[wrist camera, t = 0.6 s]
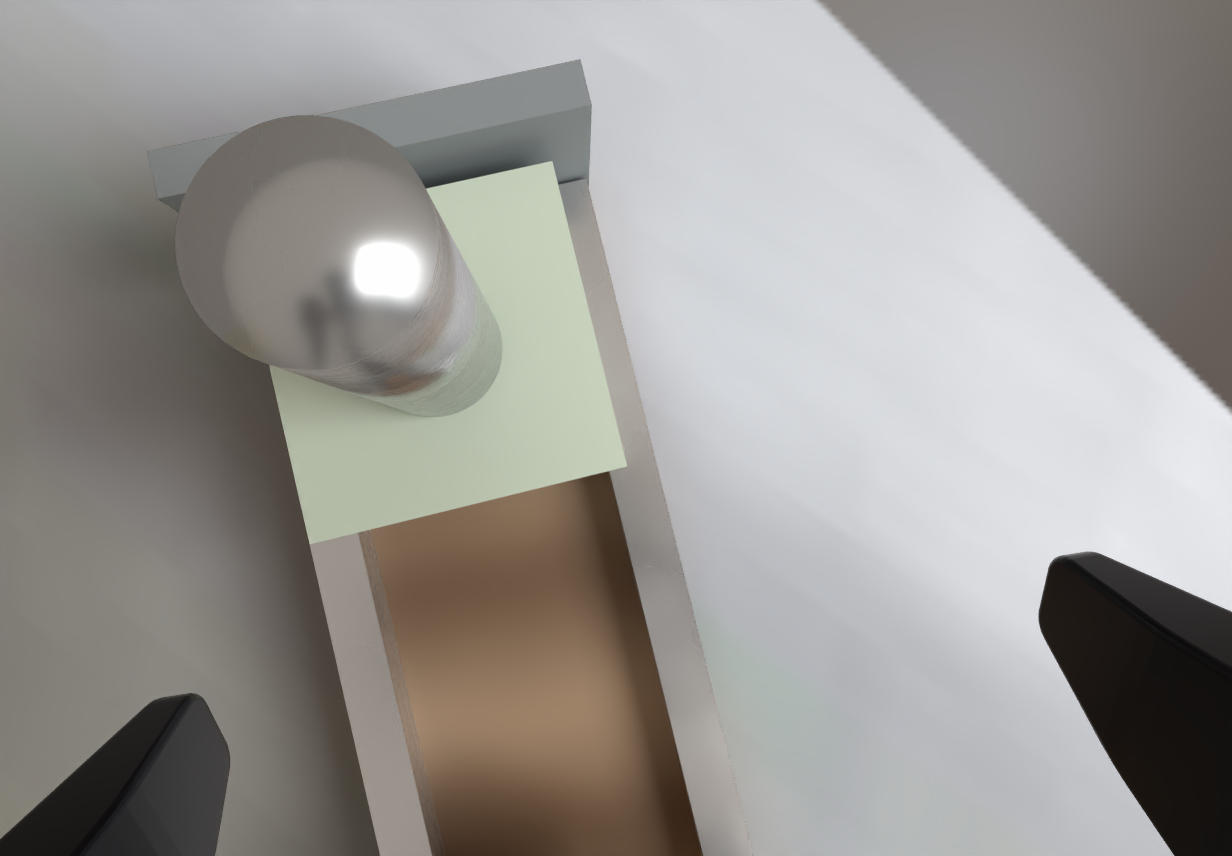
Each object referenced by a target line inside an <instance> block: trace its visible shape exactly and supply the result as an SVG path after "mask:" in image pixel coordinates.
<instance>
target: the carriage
mask: <svg viewBox="0 0 1232 856" xmlns="http://www.w3.org/2000/svg"><path fill="white" fill-rule="evenodd" d="M175 255H176V262H177V268H178V273H179V276H180V279H181V283H182V286H183V288H184V291H185V293H186V295H187V297H188V299H189V302H190V303H191V305H192V306H193V308H194V310H195V311H196V313H197V314H198V316H199V317H200V318H201V320H202V321H203V322H204V323H205V324H206V326H207V327H208V328H209V329H210V330H211V331H212V332H213V333H214V334H215V335H217V336H218V337H219V338H220V339H221V340H222V341H223V342H225V343H226V344H228V345H229V346H231V347H232V348H233V349H235V350H236V351H238V352H240V353H242V354H244V355H246V356H248V357H250V358H252V359H255V360H258V361H260V362H263V363H266V364H269V367H270V372H271V376H272V380H273V385H274V389H275V394H276V398H277V403H278V407H279V411H280V416H281V420H282V425H283V429H284V433H285V438H286V442H287V447H288V451H289V456H290V460H291V464H292V469H293V473H294V478H295V482H296V486H297V491H298V495H299V500H300V504H301V508H302V513H303V517H304V522H305V526H306V531H307V535H308V539H309V544H314V543H318V542H322V541H326V540H330V539H334V538H338V537H342V536H346V535H350V534H354V533H358V532H362V531H366V530H371V529H375V528H379V527H383V526H387V525H391V524H395V523H399V522H403V521H407V520H411V519H415V518H419V517H423V516H428V515H432V514H436V513H440V512H444V511H448V510H452V509H456V508H460V507H464V506H468V505H472V504H476V503H481V502H485V501H489V500H493V499H497V498H501V497H505V496H509V495H513V494H517V493H521V492H525V491H529V490H533V489H538V488H542V487H546V486H550V485H554V484H558V483H562V482H566V481H570V480H574V479H578V478H582V477H586V476H590V475H595V474H599V473H603V472H607V471H611V470H615V469H619V468H623V467H627V463H626V459H625V455H624V451H623V447H622V443H621V439H620V435H619V431H618V427H617V423H616V419H615V414H614V410H613V406H612V402H611V398H610V394H609V390H608V386H607V382H606V378H605V374H604V370H603V366H602V361H601V357H600V353H599V349H598V345H597V341H596V337H595V333H594V329H593V325H592V321H591V317H590V312H589V308H588V304H587V300H586V296H585V292H584V288H583V284H582V280H581V276H580V272H579V268H578V264H577V259H576V255H575V251H574V247H573V243H572V239H571V235H570V231H569V227H568V223H567V219H566V215H565V210H564V206H563V202H562V198H561V194H560V190H559V186H558V182H557V178H556V174H555V170H554V166H553V162H552V161H550V162H545V163H541V164H536V165H531V166H527V167H522V168H518V169H513V170H509V171H504V172H500V173H495V174H491V175H486V176H481V177H477V178H472V179H468V180H463V181H459V182H454V183H450V184H445V185H441V186H436V187H431V188H427V189H426V188H425V186H424V185H423V183H422V181H421V179H420V178H419V176H418V175H417V173H416V172H415V170H414V168H413V167H412V166H411V165H410V164H409V162H408V161H407V160H406V159H405V158H404V157H403V155H402V154H400V153H399V152H398V151H397V150H396V149H395V148H394V147H393V146H392V145H391V144H389V143H388V142H386V141H385V140H384V139H382V138H381V137H379V136H378V135H376V134H374V133H372V132H371V131H369V130H367V129H365V128H363V127H361V126H358V125H355V124H353V123H350V122H347V121H344V120H340V119H335V118H331V117H323V116H314V115H308V116H291V117H284V118H278V119H274V120H271V121H267V122H264V123H261V124H258V125H256V126H254V127H251V128H249V129H247V130H245V131H243V132H241V133H240V134H238V135H236V136H235V137H233V138H231V139H230V140H229V141H227V142H226V143H225V144H223V145H222V146H221V147H220V148H218V149H217V150H216V151H215V152H214V153H213V154H212V155H211V156H210V157H209V158H208V159H207V160H206V162H205V163H204V164H203V165H202V167H201V168H200V169H199V171H198V172H197V173H196V175H195V177H194V178H193V180H192V182H191V183H190V185H189V187H188V189H187V191H186V194H185V196H184V198H183V201H182V203H181V207H180V211H179V214H178V218H177V224H176V232H175Z"/></svg>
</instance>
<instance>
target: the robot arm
mask: <svg viewBox="0 0 1232 856" xmlns="http://www.w3.org/2000/svg"><path fill="white" fill-rule="evenodd" d="M1039 625H1040V629H1041V632H1042V634H1043V636H1044V639H1045V640H1046V642H1047V644H1048V646H1049V648H1050V650H1051V652H1052V653H1053V655H1054V657H1055V659H1056V661H1057V663H1058V664H1059V666H1060V668H1061V670H1062V672H1063V674H1064V676H1065V677H1066V679H1067V681H1068V683H1069V685H1070V687H1071V689H1072V690H1073V692H1074V694H1075V696H1076V698H1077V700H1078V701H1079V703H1080V705H1081V707H1082V709H1083V711H1084V713H1085V714H1086V716H1087V718H1088V720H1089V722H1090V724H1091V725H1092V727H1093V729H1094V731H1095V733H1096V735H1097V737H1098V738H1099V740H1100V742H1101V744H1102V746H1103V747H1104V749H1105V751H1106V752H1107V754H1108V756H1109V758H1110V759H1111V761H1112V763H1113V765H1114V766H1115V768H1116V769H1117V771H1118V772H1119V774H1120V775H1121V777H1122V779H1123V780H1124V782H1125V783H1126V785H1127V786H1128V788H1129V789H1130V791H1131V792H1132V794H1133V795H1134V797H1135V798H1136V800H1137V801H1138V803H1139V804H1140V806H1141V807H1142V809H1143V810H1144V812H1145V813H1146V814H1147V816H1148V817H1149V819H1150V820H1151V822H1152V823H1153V825H1154V826H1155V828H1156V829H1157V831H1158V832H1159V834H1160V835H1161V837H1162V838H1163V840H1164V841H1165V843H1166V844H1167V846H1168V847H1169V849H1170V850H1171V852H1172V853H1173V855H1174V856H1232V612H1231V611H1229V610H1227V609H1224V608H1222V607H1220V606H1218V605H1215V604H1213V603H1211V602H1208V601H1206V600H1204V599H1202V598H1199V597H1197V596H1195V595H1193V594H1190V593H1188V592H1186V591H1183V590H1181V589H1179V588H1177V587H1174V586H1172V585H1170V584H1168V583H1165V582H1163V581H1161V580H1159V579H1156V578H1154V577H1152V576H1149V575H1147V574H1145V573H1143V572H1140V571H1138V570H1136V569H1134V568H1131V567H1129V566H1127V565H1124V564H1122V563H1120V562H1118V561H1115V560H1113V559H1111V558H1109V557H1106V556H1104V555H1102V554H1099V553H1096V552H1081V553H1075V554H1069V555H1062V556H1059V557H1056V558H1055V559H1054V560H1053V561H1052V562H1051V563H1050V566H1049V568H1048V573H1047V577H1046V582H1045V586H1044V591H1043V595H1042V599H1041V604H1040V608H1039ZM229 769H230V754H229V749H228V745H227V743H226V741H225V739H224V737H223V735H222V733H221V731H220V729H219V727H218V725H217V723H216V721H215V719H214V717H213V715H212V713H211V711H210V709H209V707H208V706H207V704H206V702H205V700H204V699H203V698H202V697H201V696H200V695H198V694H193V693H188V694H182V695H176V696H169V697H163V698H159V699H156V700H154V701H152V702H151V703H149V704H148V705H147V706H146V707H144V708H143V709H142V710H141V711H140V712H139V713H138V714H137V715H136V716H135V717H134V718H132V719H131V720H130V721H129V722H128V723H127V724H126V725H125V726H124V727H123V728H121V729H120V730H119V731H118V732H117V733H116V734H115V735H114V736H113V737H112V738H110V739H109V740H108V741H107V742H106V743H105V744H104V745H103V746H102V747H101V748H100V749H98V750H97V751H96V752H95V753H94V754H93V755H92V756H91V757H90V758H89V759H87V760H86V761H85V762H84V763H83V764H82V765H81V766H80V767H79V768H78V769H77V770H75V771H74V772H73V773H72V774H71V775H70V776H69V777H68V778H67V779H66V780H64V781H63V782H62V783H61V784H60V785H59V786H58V787H57V788H56V789H55V790H54V791H52V792H51V793H50V794H49V795H48V796H47V797H46V798H45V799H44V800H43V801H41V802H40V803H39V804H38V805H37V806H36V807H35V808H34V809H33V810H32V811H31V812H29V813H28V814H27V815H26V816H25V817H24V818H23V819H22V820H21V821H20V822H18V823H17V824H16V825H15V826H14V827H13V828H12V829H11V830H10V831H9V832H7V833H6V834H5V835H4V836H3V837H2V838H1V839H0V856H215V852H216V846H217V840H218V835H219V829H220V823H221V817H222V811H223V805H224V799H225V794H226V788H227V782H228V776H229Z"/></svg>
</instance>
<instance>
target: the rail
mask: <svg viewBox="0 0 1232 856" xmlns="http://www.w3.org/2000/svg"><path fill="white" fill-rule="evenodd" d="M591 108H592V104H591V100H590V96H589V92H588V88H587V84H586V80H585V76H584V72H583V68H582V64H581V60H575V61H570V62H566V63H561V64H556V65H551V66H547V67H542V68H537V69H533V70H528V71H523V72H518V73H514V74H509V75H504V76H500V77H495V78H490V79H486V80H481V81H476V82H471V83H467V84H462V85H457V86H453V87H448V88H443V89H438V90H434V91H429V92H424V93H420V94H415V95H410V96H405V97H401V98H396V99H391V100H387V101H382V102H377V103H373V104H368V105H363V106H358V107H354V108H349V109H344V110H340V111H335V112H330V113H325V114H321V115H316V116H323V117H331V118H335V119H340V120H344V121H347V122H350V123H353V124H355V125H358V126H361V127H363V128H365V129H367V130H369V131H371V132H372V133H374V134H376V135H378V136H379V137H381V138H382V139H384V140H385V141H386V142H388V143H389V144H391V145H392V146H393V147H394V148H395V149H396V150H397V151H398V152H399V153H400V154H402V155H403V157H404V158H405V159H406V160H407V161H408V162H409V164H410V165H411V166H412V167H413V168H414V170H415V172H416V173H417V175H418V176H419V178H420V179H421V181H422V183H423V185H424V186H425V188H426V189H427V188H431V187H436V186H441V185H445V184H450V183H454V182H459V181H463V180H468V179H472V178H477V177H481V176H486V175H491V174H495V173H500V172H504V171H509V170H513V169H518V168H522V167H527V166H531V165H536V164H541V163H545V162H550V161H552V162H553V166H554V170H555V174H556V178H557V182H558V186H559V190H560V194H561V198H562V202H563V206H564V210H565V215H566V219H567V223H568V227H569V231H570V235H571V239H572V243H573V247H574V251H575V255H576V259H577V264H578V268H579V272H580V276H581V280H582V284H583V288H584V292H585V296H586V300H587V304H588V308H589V312H590V317H591V321H592V325H593V329H594V333H595V337H596V341H597V345H598V349H599V353H600V357H601V361H602V366H603V370H604V374H605V378H606V382H607V386H608V390H609V394H610V398H611V402H612V406H613V410H614V414H615V419H616V423H617V427H618V431H619V435H620V439H621V443H622V447H623V451H624V455H625V459H626V463H627V467H623V468H619V469H615V470H611V471H607V472H603V473H599V474H595V475H590V476H586V477H582V478H578V479H574V480H570V481H566V482H562V483H558V484H554V485H550V486H546V487H542V488H538V489H533V490H529V491H525V492H521V493H517V494H513V495H509V496H505V497H501V498H497V499H493V500H489V501H485V502H481V503H476V504H472V505H468V506H464V507H460V508H456V509H452V510H448V511H444V512H440V513H436V514H432V515H428V516H423V517H419V518H415V519H411V520H407V521H403V522H399V523H395V524H391V525H387V526H383V527H379V528H375V529H371V530H366V531H362V532H358V533H354V534H350V535H346V536H342V537H338V538H334V539H330V540H326V541H322V542H318V543H314V544H310V548H311V553H312V557H313V562H314V566H315V571H316V575H317V579H318V584H319V588H320V593H321V597H322V601H323V606H324V610H325V615H326V619H327V623H328V628H329V632H330V637H331V641H332V646H333V650H334V654H335V659H336V663H337V668H338V672H339V676H340V681H341V685H342V690H343V694H344V698H345V703H346V707H347V712H348V716H349V721H350V725H351V729H352V734H353V738H354V743H355V747H356V751H357V756H358V760H359V765H360V769H361V774H362V778H363V782H364V787H365V791H366V796H367V800H368V804H369V809H370V813H371V818H372V822H373V826H374V831H375V835H376V840H377V844H378V849H379V853H380V856H753V853H752V849H751V845H750V841H749V836H748V832H747V828H746V824H745V820H744V816H743V812H742V808H741V804H740V800H739V796H738V792H737V788H736V784H735V780H734V776H733V772H732V768H731V764H730V759H729V755H728V751H727V747H726V743H725V739H724V735H723V731H722V727H721V723H720V719H719V715H718V711H717V707H716V703H715V699H714V695H713V691H712V687H711V683H710V678H709V674H708V670H707V666H706V662H705V658H704V654H703V650H702V646H701V642H700V638H699V634H698V630H697V626H696V622H695V618H694V614H693V610H692V605H691V601H690V597H689V593H688V589H687V585H686V581H685V577H684V573H683V569H682V565H681V561H680V557H679V553H678V549H677V545H676V541H675V537H674V533H673V529H672V524H671V520H670V516H669V512H668V508H667V504H666V500H665V496H664V492H663V488H662V484H661V480H660V476H659V472H658V468H657V464H656V460H655V456H654V452H653V447H652V443H651V439H650V435H649V431H648V427H647V423H646V419H645V415H644V411H643V407H642V403H641V399H640V395H639V391H638V387H637V383H636V379H635V375H634V370H633V366H632V362H631V358H630V354H629V350H628V346H627V342H626V338H625V334H624V330H623V326H622V322H621V318H620V314H619V310H618V306H617V302H616V298H615V293H614V289H613V285H612V281H611V277H610V273H609V269H608V265H607V261H606V257H605V253H604V249H603V245H602V241H601V237H600V233H599V229H598V225H597V221H596V216H595V212H594V208H593V204H592V200H591V196H590V192H589V188H588V187H589V161H590V135H591ZM241 132H243V131H241ZM241 132H236V133H231V134H227V135H222V136H217V137H212V138H208V139H203V140H198V141H194V142H189V143H184V144H179V145H175V146H170V147H165V148H161V149H156V150H151V151H147V153H148V157H149V162H150V166H151V171H152V175H153V180H154V184H155V189H156V193H157V198H158V199H159V200H160V201H162V202H163V203H165V204H167V205H168V206H170V207H171V208H173V209H174V210H176V211H177V212H179V211H180V207H181V203H182V201H183V198H184V196H185V194H186V191H187V189H188V187H189V185H190V183H191V182H192V180H193V178H194V177H195V175H196V173H197V172H198V171H199V169H200V168H201V167H202V165H203V164H204V163H205V162H206V160H207V159H208V158H209V157H210V156H211V155H212V154H213V153H214V152H215V151H216V150H217V149H218V148H220V147H221V146H222V145H223V144H225V143H226V142H227V141H229V140H230V139H231V138H233V137H235V136H236V135H238V134H240V133H241ZM269 368H270V367H269ZM272 381H273V380H272ZM274 390H275V389H274ZM279 412H280V411H279ZM284 434H285V433H284ZM286 443H287V442H286ZM291 465H292V464H291ZM296 487H297V486H296ZM301 509H302V508H301ZM303 518H304V517H303ZM308 540H309V539H308Z"/></svg>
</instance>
